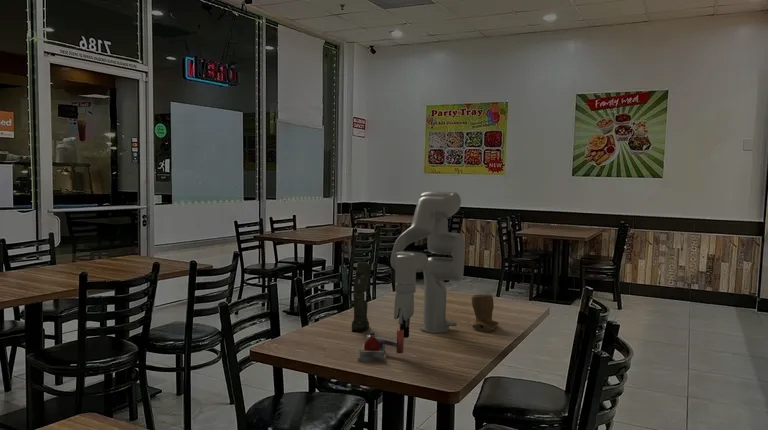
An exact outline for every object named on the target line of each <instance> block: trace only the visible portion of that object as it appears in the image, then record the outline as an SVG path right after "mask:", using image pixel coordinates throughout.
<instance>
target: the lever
mask: <svg viewBox="0 0 768 430" xmlns="http://www.w3.org/2000/svg"><path fill="white" fill-rule="evenodd" d="M365 336H366V340H367V339H369V338H370V337H371V335H370V333H368V334H366V335H365ZM373 336H374V338H376V339H377V340H378V342H379V344H380V349H381V350H383V349H385V350H386V346H390V347H394V348H396V351H395V352H396V353H397V354H403V353H404V348H405V347H404V343H405V338H404V329H400V328H397V329H396V340H394V339H391V338H387V337H383V336H379V335H378V334H376V333H375V335H373ZM366 340H365V341H366Z"/></svg>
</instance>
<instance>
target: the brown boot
mask: <svg viewBox="0 0 768 430" xmlns="http://www.w3.org/2000/svg"><path fill="white" fill-rule="evenodd" d="M471 305H472V308H473V313H474V315H475V322H474V323H473V324H472V325H471V327H472V328H473V329H475V330H476V331H478V332H479V331H480V332H489V331H493V330H494V329H496V327H497V326H499V321H495V320H494V319H493V313H494V297H493V295H492V294H490V293H489V294H488V293H487V294H483V293H482V294H474V295H472V296H471Z"/></svg>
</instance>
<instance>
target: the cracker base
mask: <svg viewBox="0 0 768 430" xmlns="http://www.w3.org/2000/svg"><path fill="white" fill-rule="evenodd" d="M369 334H370V335H375V334H376V333H375V332H374V331H370V332H369ZM364 344H365V343H363V344H362V348H358V351H357V362H367V363H369V362H372V363H373V362H375V363H376V362H377V363H379V362H381V363H382V362H383V363H385V362H387V355H386V352H387V351H386V348H385V349H383V350H381V349H380V350H379V351H365V350H364Z"/></svg>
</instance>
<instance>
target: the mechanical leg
mask: <svg viewBox="0 0 768 430" xmlns="http://www.w3.org/2000/svg"><path fill="white" fill-rule="evenodd" d="M371 267H372V266H371V264H370V263H369V262H365V261H357V264H356V269H355V270H356V271H355V278H354V280H353V281H354V282H353V294H352V295H353V320H352V321H351V333H362V334H363V333H364V332H366V331H367V330H369V327H370V322H369V320H368V301H367V300H366V299H365V292H367V290H368V285H369V277H370V274H371V272H372V268H371Z"/></svg>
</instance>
